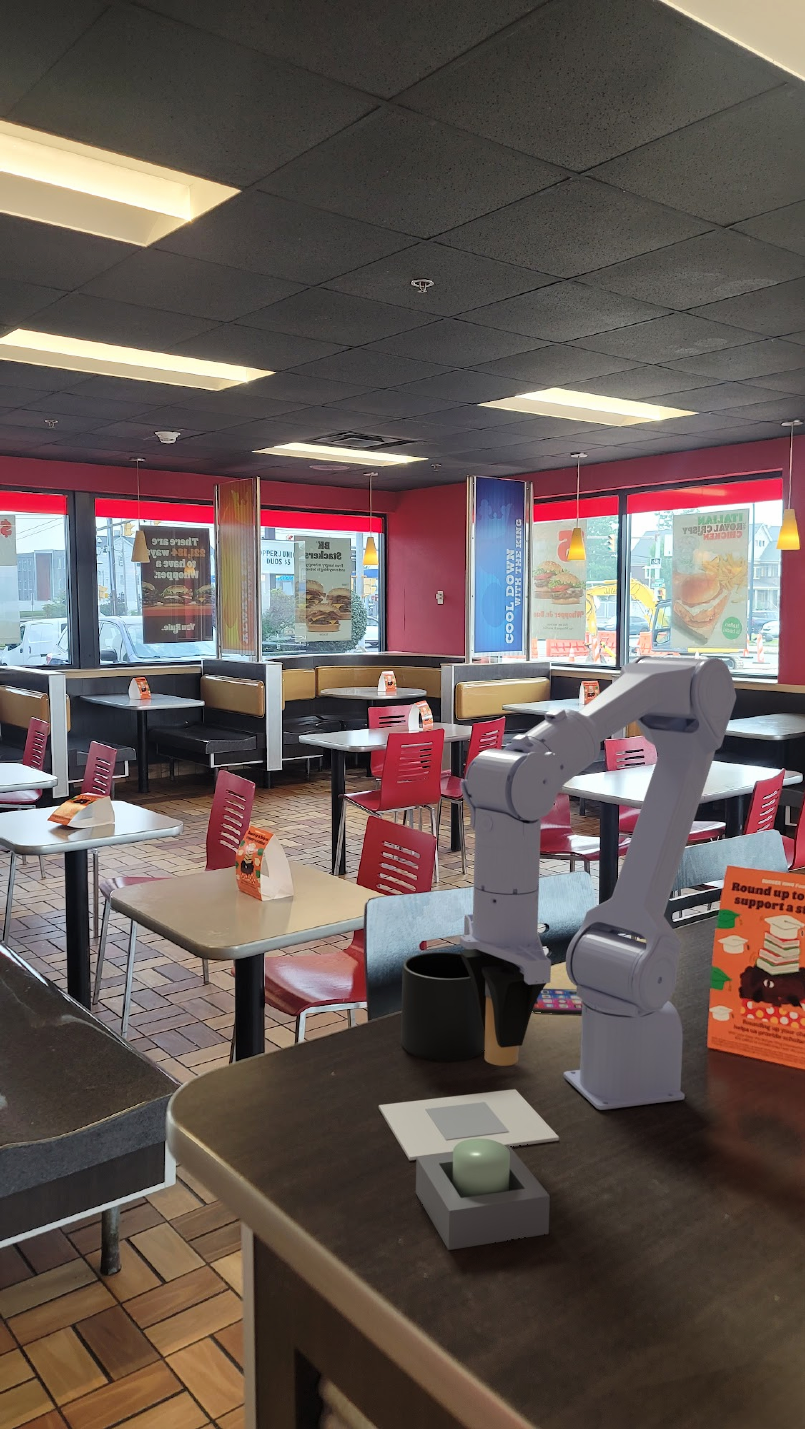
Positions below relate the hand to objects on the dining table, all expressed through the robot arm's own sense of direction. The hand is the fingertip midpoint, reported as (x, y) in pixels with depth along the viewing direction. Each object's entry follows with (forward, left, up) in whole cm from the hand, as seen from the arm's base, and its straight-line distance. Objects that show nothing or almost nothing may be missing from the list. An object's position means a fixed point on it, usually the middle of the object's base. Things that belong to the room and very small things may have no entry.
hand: (501, 1037), depth 91 cm
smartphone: (-24, -29, -10) cm, 39 cm away
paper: (+2, -4, -9) cm, 10 cm away
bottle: (0, 0, -2) cm, 2 cm away
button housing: (+6, +10, -9) cm, 15 cm away
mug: (-3, -21, -10) cm, 23 cm away
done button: (+6, +11, -8) cm, 14 cm away
